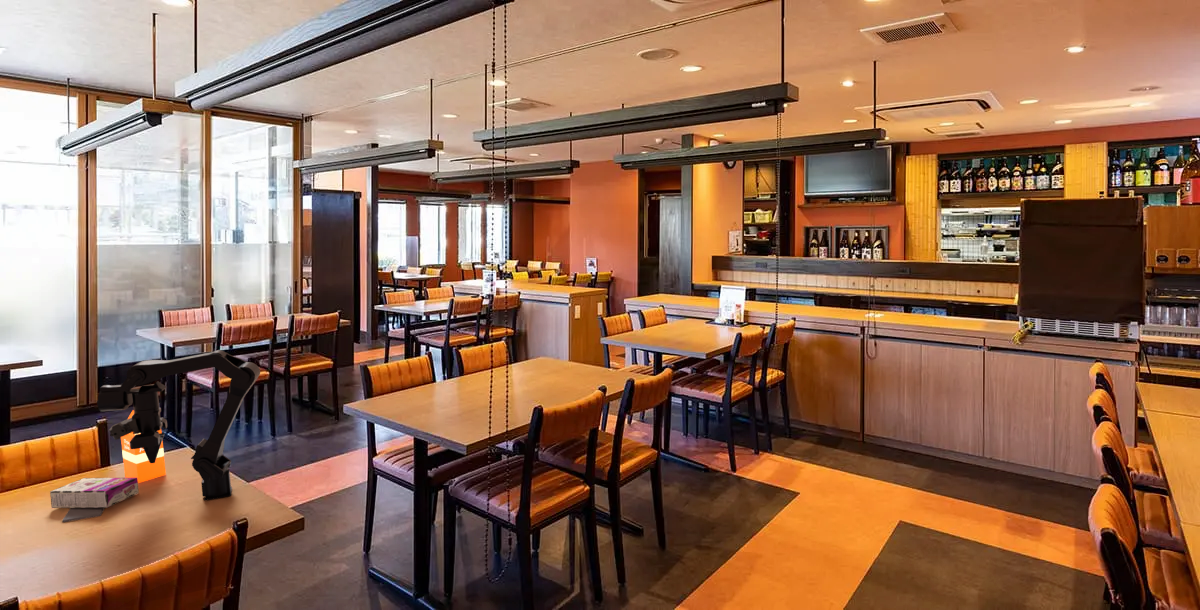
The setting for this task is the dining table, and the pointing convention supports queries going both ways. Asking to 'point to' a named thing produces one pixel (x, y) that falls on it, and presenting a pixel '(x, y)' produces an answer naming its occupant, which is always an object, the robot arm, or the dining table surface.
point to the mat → (82, 513)
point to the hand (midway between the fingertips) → (152, 462)
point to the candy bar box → (94, 492)
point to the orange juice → (141, 460)
